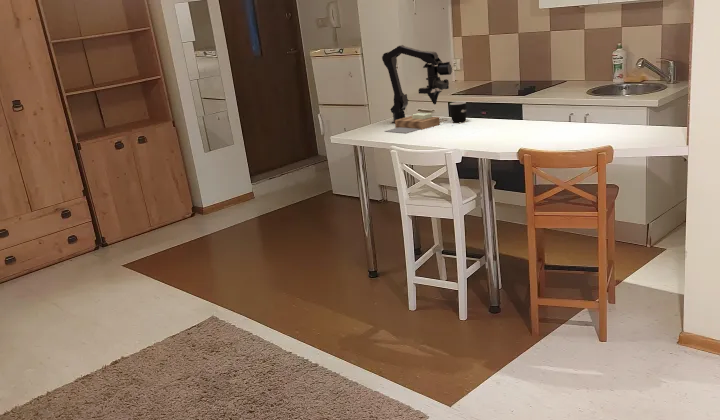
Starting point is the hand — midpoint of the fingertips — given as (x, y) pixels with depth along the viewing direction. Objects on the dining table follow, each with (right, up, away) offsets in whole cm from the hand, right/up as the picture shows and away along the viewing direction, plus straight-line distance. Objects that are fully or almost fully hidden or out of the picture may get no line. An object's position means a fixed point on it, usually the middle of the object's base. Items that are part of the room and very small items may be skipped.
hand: (434, 104), depth 363 cm
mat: (-19, -16, -14) cm, 28 cm away
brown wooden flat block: (-10, -13, -5) cm, 17 cm away
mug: (+13, -10, -5) cm, 18 cm away
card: (-8, -8, -5) cm, 12 cm away
